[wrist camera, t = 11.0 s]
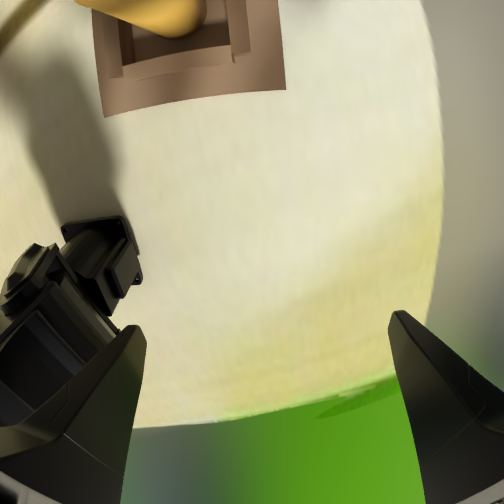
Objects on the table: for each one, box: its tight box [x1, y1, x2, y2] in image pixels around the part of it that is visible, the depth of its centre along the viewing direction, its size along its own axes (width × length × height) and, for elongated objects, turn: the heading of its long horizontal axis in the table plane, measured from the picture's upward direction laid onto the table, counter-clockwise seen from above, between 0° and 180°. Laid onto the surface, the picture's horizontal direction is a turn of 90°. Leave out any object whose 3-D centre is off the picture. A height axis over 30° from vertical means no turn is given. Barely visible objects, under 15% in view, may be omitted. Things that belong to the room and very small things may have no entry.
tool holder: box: [92, 0, 286, 118], centre depth 13 cm, size 12×12×3 cm
